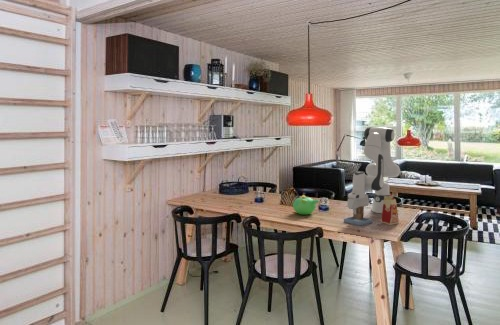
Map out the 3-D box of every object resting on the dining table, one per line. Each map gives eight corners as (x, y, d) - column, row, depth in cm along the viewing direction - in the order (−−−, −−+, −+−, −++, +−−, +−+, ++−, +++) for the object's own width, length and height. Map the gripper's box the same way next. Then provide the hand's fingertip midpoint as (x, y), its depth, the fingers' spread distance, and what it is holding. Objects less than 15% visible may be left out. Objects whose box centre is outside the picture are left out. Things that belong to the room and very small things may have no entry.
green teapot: (308, 211, 295) (308, 193, 294) (320, 215, 280) (320, 196, 278) (289, 213, 287) (289, 195, 286) (300, 217, 272) (301, 198, 271)
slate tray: (355, 219, 268) (355, 215, 268) (372, 222, 257) (372, 219, 257) (343, 222, 260) (343, 218, 259) (360, 226, 248) (360, 222, 248)
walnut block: (357, 217, 261) (357, 205, 260) (363, 218, 257) (363, 206, 256) (353, 218, 258) (353, 206, 257) (359, 219, 254) (359, 207, 253)
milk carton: (398, 223, 256) (399, 195, 254) (390, 225, 251) (391, 196, 249) (387, 220, 264) (388, 193, 262) (379, 222, 259) (380, 194, 257)
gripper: (363, 192, 265) (363, 210, 266) (346, 195, 253) (345, 214, 254) (371, 193, 260) (370, 212, 261) (353, 196, 248) (353, 216, 249)
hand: (358, 213), depth 257 cm, fingers closed on walnut block, 5 cm apart
